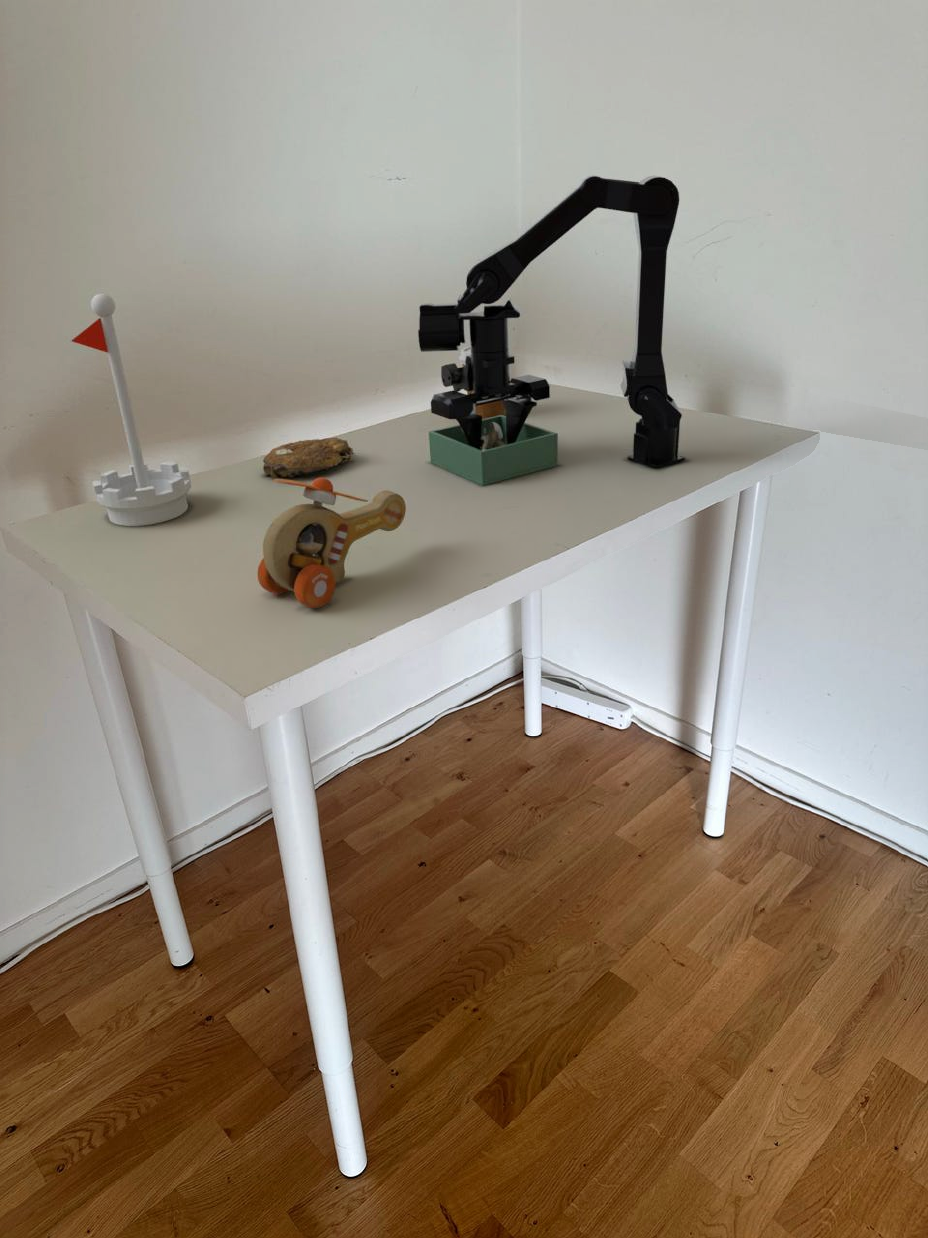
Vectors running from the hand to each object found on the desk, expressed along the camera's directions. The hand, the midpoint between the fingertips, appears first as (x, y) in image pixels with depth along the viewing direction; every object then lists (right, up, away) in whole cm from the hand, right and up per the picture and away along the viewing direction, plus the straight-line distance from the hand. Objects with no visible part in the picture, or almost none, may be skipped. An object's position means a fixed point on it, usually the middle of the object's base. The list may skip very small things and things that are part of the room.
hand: (493, 451), depth 142 cm
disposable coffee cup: (0, +11, +27) cm, 29 cm away
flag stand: (-50, -11, -11) cm, 53 cm away
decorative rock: (-29, -2, +4) cm, 30 cm away
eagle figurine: (0, -2, +1) cm, 2 cm away
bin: (0, -2, +1) cm, 2 cm away
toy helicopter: (-20, -22, -35) cm, 46 cm away
